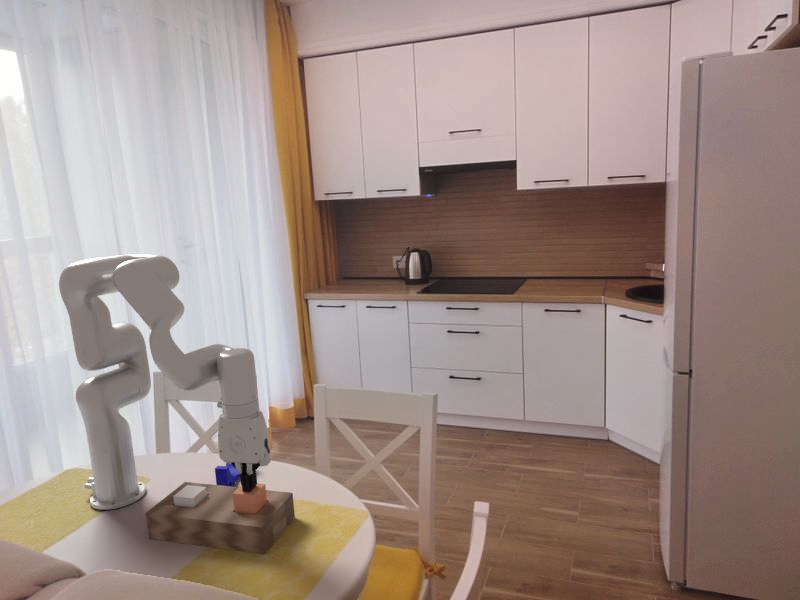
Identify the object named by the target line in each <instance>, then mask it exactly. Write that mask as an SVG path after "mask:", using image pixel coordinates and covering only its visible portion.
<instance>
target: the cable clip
mask: <svg viewBox="0 0 800 600" xmlns="http://www.w3.org/2000/svg"><path fill="white" fill-rule="evenodd" d="M225 463H226V462H225ZM214 474H215V483H216V484H215V485H221V486H231V487H234V485H235V484H236V483H237V481H239V479H240V474H238V473H237V470H236V468H235V467H234V466H233V465H232V464H229V463H226V464H225V465H217V466H216V467H215V468H214ZM235 482H236V483H235Z"/></svg>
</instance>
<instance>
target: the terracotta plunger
mask: <svg viewBox="0 0 800 600" xmlns="http://www.w3.org/2000/svg"><path fill="white" fill-rule="evenodd" d="M238 487H239V488H238V489H237V490H236V491H235V492H234V493H233V501H234V510H235V512H237V513H246V514H255V515H256V514H257V513H258V512H259V511H260V510H261V509H262V508H263V507H264V506H265V505H266V504H267V497H266V490H267V489H266V484H265V483H259V482H257V485H256V487H255V488H254V489H253V490H252V491H251V492H247V491H246V492H243V491H242V485H241V484H240V486H238Z"/></svg>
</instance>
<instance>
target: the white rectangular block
mask: <svg viewBox="0 0 800 600" xmlns="http://www.w3.org/2000/svg"><path fill="white" fill-rule="evenodd" d="M173 497H174V505H176V506H185V507H194V508H195V507H196V506H197V505H198V504H199V503H200V502H201V501H203V500H204V499H205V498H206V497H207V489H206V487H201V486H191V485H187V486H185V487H184V488H183V489H182V490H180V491H179V492H178V493H177V494H175V495H174V496H173Z"/></svg>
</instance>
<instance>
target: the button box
mask: <svg viewBox="0 0 800 600" xmlns="http://www.w3.org/2000/svg"><path fill="white" fill-rule="evenodd" d="M187 485H191V486H201V487H206V489H207V497H206V498H205V499H204V500H203V501H201V502H200V503H199V504H198V505H197V506H196V507H195V508H194V507H185V506H176V505H174V497H173V496H174V495H175V494H177V493H178V492H179V491H180V490H182V489H183V488H184V487H185V486H187ZM239 487H240V486H232V487H231V486H221V485H217V484H210V483H209V484H208V483H199V482H190V481H188V482H187V481H184V482H183V483H182V484H180V485H179V486H178V487H177V488H175V489H174V490H173V491H172V492H170V493H169V494H168V495H166V496H165V497H164V498H163V499H161V500H160V501H158V502H157V503H155V505H154V506H152V507H151V508H150V509H148V510H147V511H146V512H145V513H144V514H145V521H146V527H147V528H146V529H147V535H148V540H149V539H150V540H158V541H164V542H172V543H180V544H187V545H193V546H194V545H195V546H201V547H202V546H203V547H210V548H216V549H224V550H232V551H238V552H239V551H240V552H245V553H247V552H248V553H255V554H260V555H262V554H263V555H266V553H267V552H268V551H269V550H270V548H271V547H272V546H273V545H274V543H275V542H276V541H277V540H278V539H279V537H280V536H282V533H283V532H284V531H285V530H286V528H288V526H289V525H290V524H291V523H292V521H293V520H294V519H295V518H296V517H295V506H294V505H295V504H294V503H295V502H294V494H293V492H289V491H288V492H287V491H279V490H270V489H269V490H267V489H266V497H267V504H266V505H265V506H264V507H263V508H262V509H261V510H260V511H259V512H258V513H257V514H256V515H255V514H246V513H237V512H235V510H234V501H233V493H234V492H235V491H236V490H237V489H238V488H239ZM294 517H295V518H294ZM293 518H294V519H293Z"/></svg>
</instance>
